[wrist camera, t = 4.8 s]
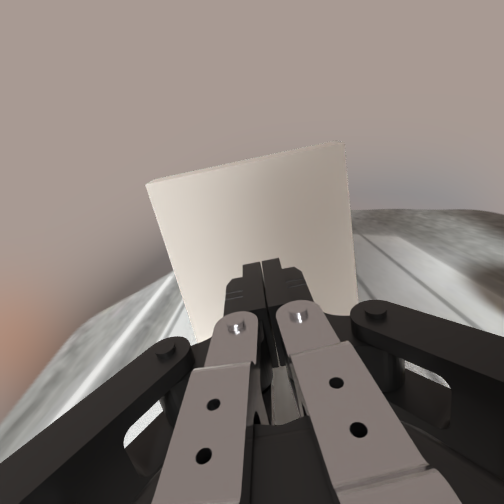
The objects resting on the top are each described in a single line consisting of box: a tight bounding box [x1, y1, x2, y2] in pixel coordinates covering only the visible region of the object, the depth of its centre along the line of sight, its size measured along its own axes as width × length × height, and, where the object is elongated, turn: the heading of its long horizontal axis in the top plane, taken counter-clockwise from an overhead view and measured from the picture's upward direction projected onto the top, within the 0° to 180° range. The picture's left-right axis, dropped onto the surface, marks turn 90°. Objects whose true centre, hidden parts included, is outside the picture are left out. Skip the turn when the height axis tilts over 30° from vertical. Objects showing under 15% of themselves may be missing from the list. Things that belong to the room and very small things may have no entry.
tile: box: [146, 141, 359, 343], centre depth 22 cm, size 12×2×12 cm, turn 92°
